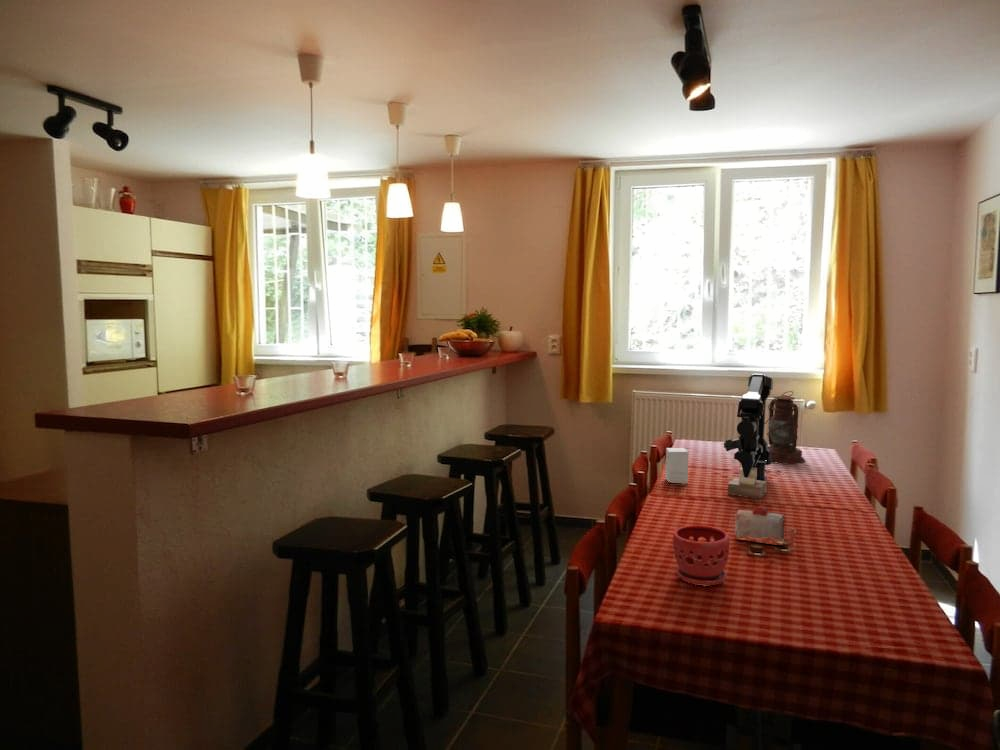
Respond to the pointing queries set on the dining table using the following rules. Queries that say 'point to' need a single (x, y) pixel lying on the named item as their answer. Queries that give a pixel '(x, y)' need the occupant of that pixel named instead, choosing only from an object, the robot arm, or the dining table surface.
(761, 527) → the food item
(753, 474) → the birch cube
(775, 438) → the lantern
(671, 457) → the supplement box
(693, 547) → the plant pot
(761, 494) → the beige flat block
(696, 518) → the dining table surface
